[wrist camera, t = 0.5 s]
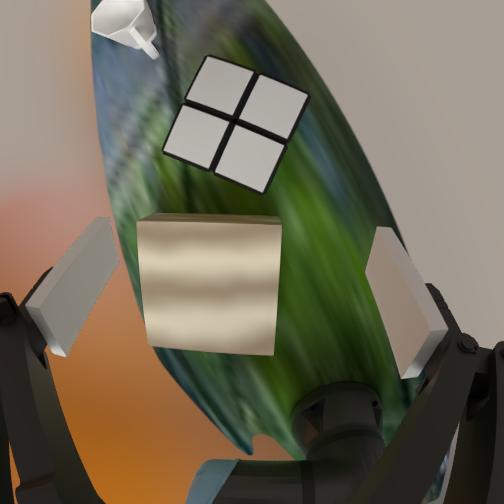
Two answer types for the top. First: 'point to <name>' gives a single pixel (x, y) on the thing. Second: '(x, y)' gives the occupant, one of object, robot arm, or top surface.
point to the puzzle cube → (236, 123)
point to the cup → (126, 23)
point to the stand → (210, 281)
